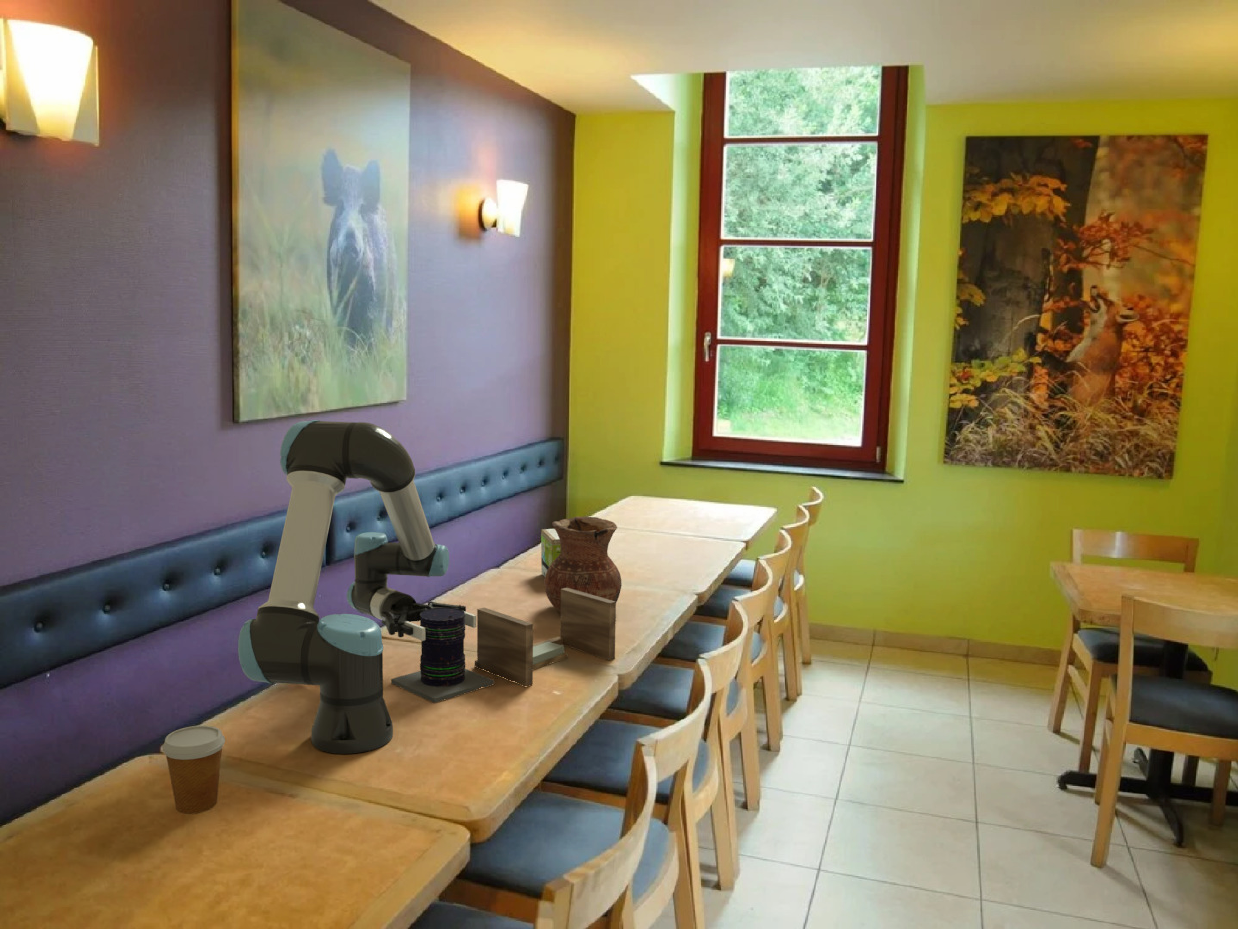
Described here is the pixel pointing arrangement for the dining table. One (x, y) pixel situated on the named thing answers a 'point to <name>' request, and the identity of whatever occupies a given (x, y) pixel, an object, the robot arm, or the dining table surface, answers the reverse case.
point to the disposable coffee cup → (194, 766)
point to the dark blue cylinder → (443, 647)
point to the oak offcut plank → (550, 660)
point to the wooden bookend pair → (512, 645)
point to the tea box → (549, 548)
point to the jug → (583, 560)
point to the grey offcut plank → (546, 651)
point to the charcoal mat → (440, 693)
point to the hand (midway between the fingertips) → (450, 627)
